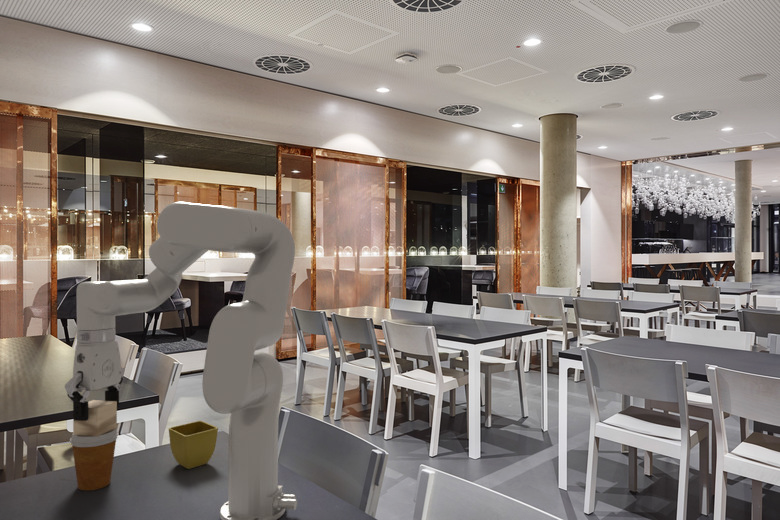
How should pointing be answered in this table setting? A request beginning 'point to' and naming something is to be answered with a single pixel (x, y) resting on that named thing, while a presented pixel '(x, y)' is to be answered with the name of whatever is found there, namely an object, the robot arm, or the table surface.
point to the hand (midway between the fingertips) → (97, 413)
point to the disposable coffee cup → (94, 459)
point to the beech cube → (97, 419)
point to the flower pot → (193, 443)
